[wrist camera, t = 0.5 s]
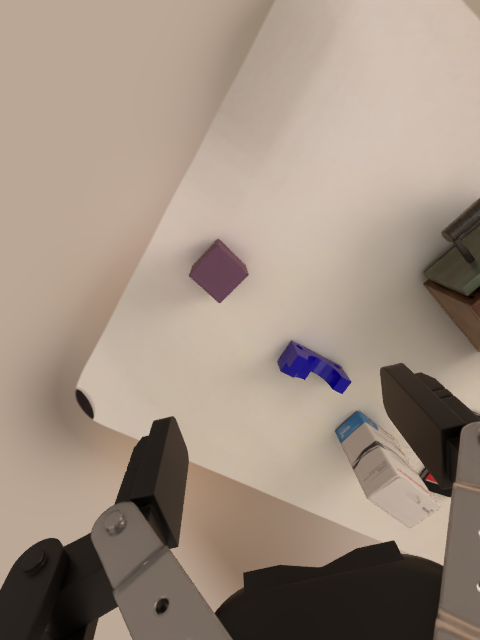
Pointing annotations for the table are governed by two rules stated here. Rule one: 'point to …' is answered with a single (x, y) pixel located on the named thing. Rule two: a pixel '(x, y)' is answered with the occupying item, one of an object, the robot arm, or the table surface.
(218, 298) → the block
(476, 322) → the cabinet
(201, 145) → the table surface
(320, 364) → the cable holder
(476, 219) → the drawer
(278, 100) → the table surface
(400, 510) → the ink box
